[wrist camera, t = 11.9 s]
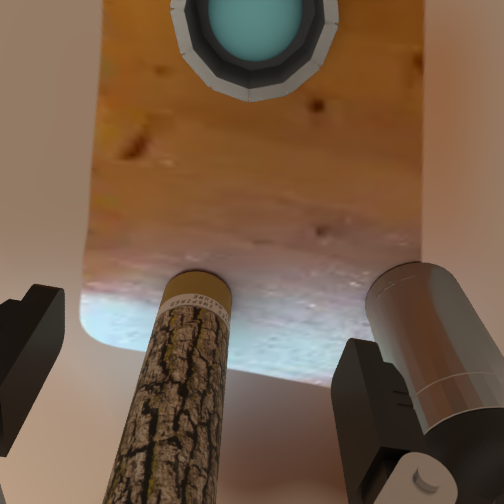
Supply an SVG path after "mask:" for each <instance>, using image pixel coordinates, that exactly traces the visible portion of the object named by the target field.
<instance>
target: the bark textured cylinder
mask: <svg viewBox="0 0 504 504" xmlns="http://www.w3.org/2000/svg"><path fill="white" fill-rule="evenodd" d="M231 305H232V299H231V294H230V291H229V289H228V288H227V286H226V285H225V284H224V283H223V282H222V281H221V280H220V279H218V278H217V277H215V276H213V275H211V274H209V273H205V272H199V271H193V272H186V273H183V274H180V275H178V276H176V277H175V278H173V279H172V280H171V281H170V282H169V283H168V285H167V286H166V288H165V290H164V293H163V297H162V300H161V304H160V307H159V311H158V313H157V317H156V320H155V324H154V327H153V330H152V334H151V337H150V341H149V344H148V348H147V351H146V355H145V358H144V362H143V365H142V368H141V372H140V375H139V379H138V382H137V386H136V389H135V393H134V396H133V400H132V403H131V406H130V410H129V413H128V417H127V420H126V424H125V427H124V431H123V434H122V437H121V441H120V444H119V448H118V451H117V455H116V458H115V462H114V465H113V468H112V472H111V475H110V479H109V483H108V486H107V489H106V493H105V496H104V500H103V503H102V504H216V493H217V482H218V481H217V480H218V468H219V456H220V445H221V432H222V419H223V407H224V395H225V383H226V370H227V358H228V345H229V333H230V317H231Z"/></svg>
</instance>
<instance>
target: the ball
mask: <svg viewBox="0 0 504 504" xmlns="http://www.w3.org/2000/svg"><path fill="white" fill-rule="evenodd" d="M302 13H303V3H302V0H209V4H208V15H209V21H210V25H211V28H212V31H213V33H214V35H215V37H216V39H217V40H218V42H219V43H220V44H221V46H222V47H223V48H224V49H225V50H227V51H228V52H229V53H230V54H232V55H233V56H235V57H237V58H239V59H242V60H246V61H253V62H258V61H265V60H269V59H271V58H274V57H276V56H277V55H279V54H281V53H282V52H283V51H284V50H285V49H286V48H287V47H288V46H289V45H290V44H291V43H292V41H293V40H294V38H295V37H296V35H297V33H298V30H299V28H300V25H301V20H302Z"/></svg>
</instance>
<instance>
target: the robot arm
mask: <svg viewBox="0 0 504 504" xmlns="http://www.w3.org/2000/svg"><path fill="white" fill-rule="evenodd" d="M365 308H366V313H367V317H368V320H369V323H370V326H371V330H372V333H373V336H374V340H375V342H372V341H367V340H361V339H355V338H350V339H349V340H348V341H347V343H346V346H345V348H344V351H343V353H342V356H341V358H340V360H339V363H338V365H337V368H336V370H335V373H334V375H333V379H332V384H331V399H332V405H333V411H334V417H335V423H336V429H337V435H338V441H339V447H340V454H341V460H342V466H343V472H344V478H345V484H346V490H347V496H348V502H349V504H504V357H503V355H502V354H501V352H500V350H499V349H498V347H497V346H496V344H495V342H494V341H493V339H492V337H491V336H490V334H489V333H488V331H487V329H486V328H485V326H484V324H483V323H482V321H481V320H480V318H479V316H478V315H477V313H476V311H475V310H474V308H473V307H472V305H471V303H470V301H469V300H468V298H467V297H466V295H465V293H464V292H463V290H462V289H461V287H460V285H459V284H458V282H457V280H456V279H455V278H454V276H453V275H452V274H451V273H450V272H448V271H447V270H446V269H444V268H442V267H440V266H438V265H435V264H430V263H418V262H417V263H410V264H405V265H402V266H399V267H396V268H394V269H392V270H390V271H388V272H386V273H385V274H384V275H382V276H381V277H380V278H379V279H378V280H377V281H376V282H375V283H374V284H373V285H372V287H371V289H370V290H369V292H368V295H367V298H366V307H365ZM64 333H65V293H64V289H63V288H57V287H51V286H45V285H40V284H33V285H32V286H31V288H30V289H29V290H28V292H27V293H26V295H25V296H24V297H23V299H22V300H21V301H19V300H12V299H8V300H7V301H5V302H4V303H2V304H0V457H7V454H8V453H9V451H10V448H11V447H12V445H13V443H14V441H15V439H16V437H17V435H18V433H19V431H20V429H21V427H22V425H23V423H24V421H25V419H26V417H27V415H28V413H29V411H30V409H31V408H32V406H33V403H34V402H35V400H36V398H37V396H38V394H39V392H40V390H41V388H42V386H43V384H44V382H45V380H46V378H47V376H48V374H49V372H50V370H51V368H52V367H53V365H54V363H55V361H56V359H57V357H58V355H59V353H60V350H61V347H62V344H63V339H64ZM0 504H6V502H5V499H4V495H3V492H2V489H1V485H0Z"/></svg>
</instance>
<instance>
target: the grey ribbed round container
mask: <svg viewBox="0 0 504 504" xmlns="http://www.w3.org/2000/svg"><path fill="white" fill-rule="evenodd" d="M302 3H303V13H302V20H301V25H300V28H299V30H298V33H297V35H296V37H295V38H294V40H293V41H292V43H291V44H290V45H289V46H288V47H287V48H286V49H285V50H284V51H283V52H282V53H281V54H279V55H277V56H276V57H274V58H271V59H269V60H265V61H258V62H253V61H246V60H242V59H239V58H237V57H235V56H233V55H232V54H230V53H229V52H228V51H227V50H225V49H224V48H223V47H222V46H221V44H220V43H219V42H218V40H217V39H216V37H215V35H214V33H213V31H212V28H211V25H210V21H209V15H208V4H209V0H171V5H170V7H171V8H173V9H171V10H170V13H171V17H172V21H173V25H174V29H175V33H176V37H177V41H178V45H179V50H180V54H182V53H184V55H183V56H182V57H183V58H184V59H185V61H186V62H187V63H188V64H189V65H190V66H191V68H192V69H193V70H194V71H195V72H196V73H197V74H198V76H199V77H200V78H201V79H202V80H203V81H204V83H205V84H206V85H207V86H208V87H210V86H211V85H212V84H213V85H212V88H211V89H212V90H215V91H218V92H220V93H223V94H226V95H229V96H231V97H234V98H237V99H239V100H242V101H245V102H247V101H248V98H249V101H250V102H255V101H261V100H266V99H272V98H277V97H283V96H287V92H288V93H289V95H290V94H291V93H292V92H293V91H294V90H295V89H297V88H298V87H299V86H300V85H301V84H303V83H304V82H305V81H306V80H307V79H309V78H310V77H311V76H312V75H313V74H315V73H316V72H317V71H318V70H319V69H320V67H319V65H320V66H322V65H323V63H324V60H325V58H326V55H327V53H328V51H329V48H330V46H331V43H332V41H333V38H334V36H335V34H336V31H337V29H338V26H339V25H337V24H336V23H339V13H338V1H337V0H302ZM286 91H287V92H286Z"/></svg>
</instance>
